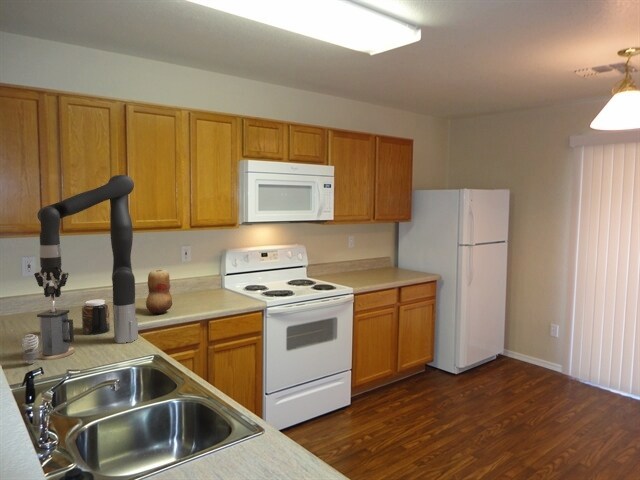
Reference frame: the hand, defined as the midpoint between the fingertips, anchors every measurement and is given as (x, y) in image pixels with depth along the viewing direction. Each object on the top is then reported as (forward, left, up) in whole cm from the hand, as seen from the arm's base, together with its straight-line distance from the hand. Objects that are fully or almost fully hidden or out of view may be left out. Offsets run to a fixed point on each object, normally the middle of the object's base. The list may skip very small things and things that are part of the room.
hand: (52, 296), depth 189 cm
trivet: (0, 0, -24) cm, 24 cm away
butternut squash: (-15, -68, -25) cm, 74 cm away
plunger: (0, 0, -16) cm, 16 cm away
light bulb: (+2, +12, -25) cm, 27 cm away
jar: (+1, -32, -25) cm, 40 cm away
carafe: (-2, 0, -24) cm, 24 cm away
